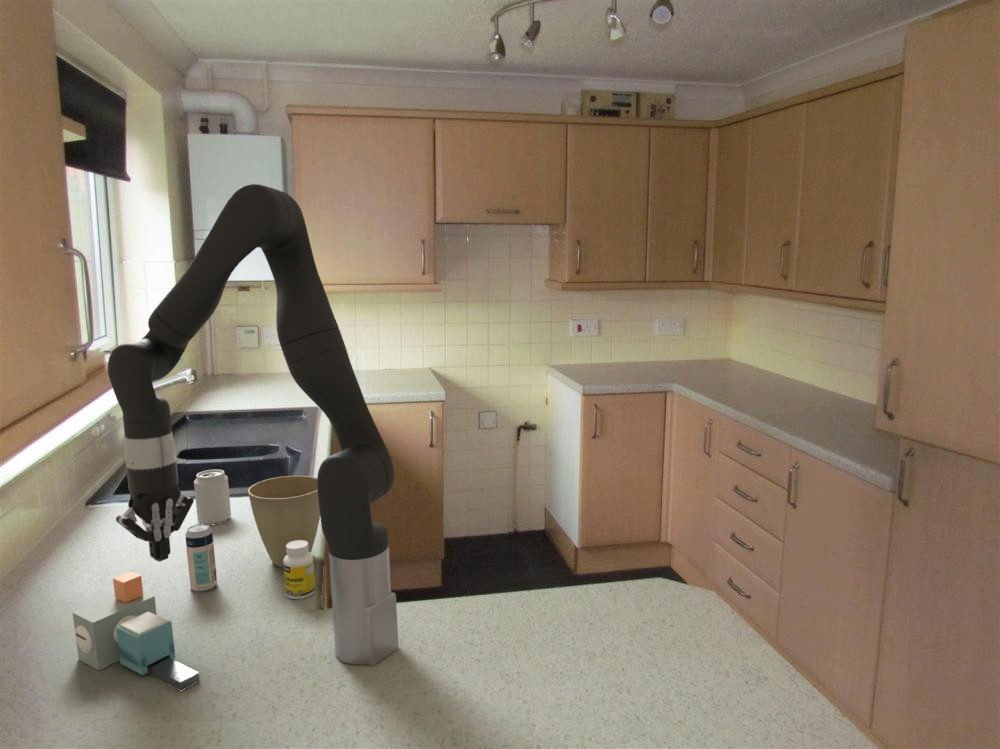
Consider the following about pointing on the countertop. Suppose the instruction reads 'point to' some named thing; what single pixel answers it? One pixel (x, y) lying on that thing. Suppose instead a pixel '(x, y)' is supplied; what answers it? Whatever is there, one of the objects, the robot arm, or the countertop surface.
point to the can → (212, 497)
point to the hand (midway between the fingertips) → (161, 559)
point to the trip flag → (128, 587)
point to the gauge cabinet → (106, 627)
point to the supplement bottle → (298, 570)
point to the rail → (173, 673)
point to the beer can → (201, 557)
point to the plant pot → (285, 512)
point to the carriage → (145, 641)
